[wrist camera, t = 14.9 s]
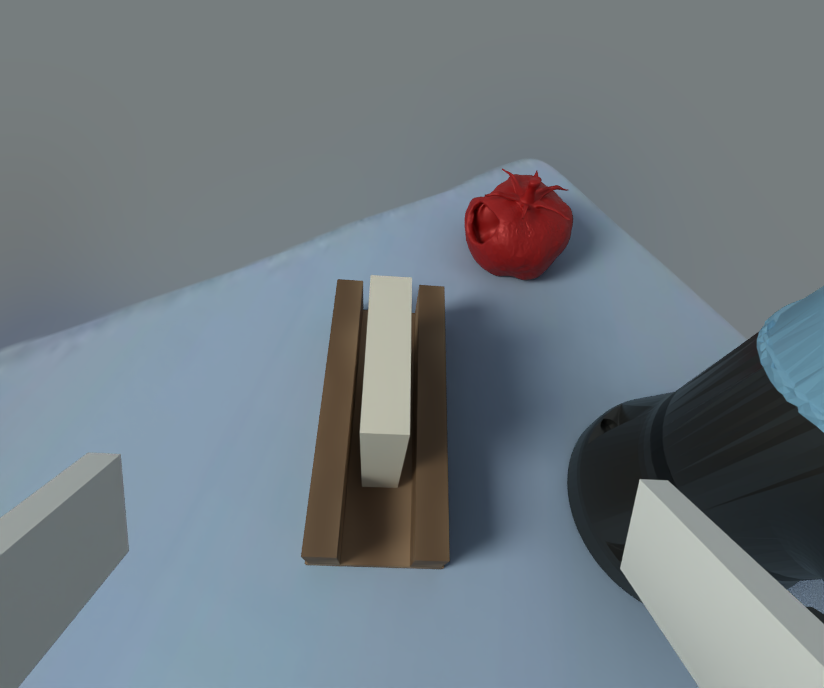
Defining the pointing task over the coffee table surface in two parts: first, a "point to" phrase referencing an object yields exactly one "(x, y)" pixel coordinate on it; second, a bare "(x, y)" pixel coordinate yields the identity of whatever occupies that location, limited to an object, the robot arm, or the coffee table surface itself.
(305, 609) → the coffee table surface
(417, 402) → the rack
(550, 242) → the pomegranate
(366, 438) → the cream rectangular block
